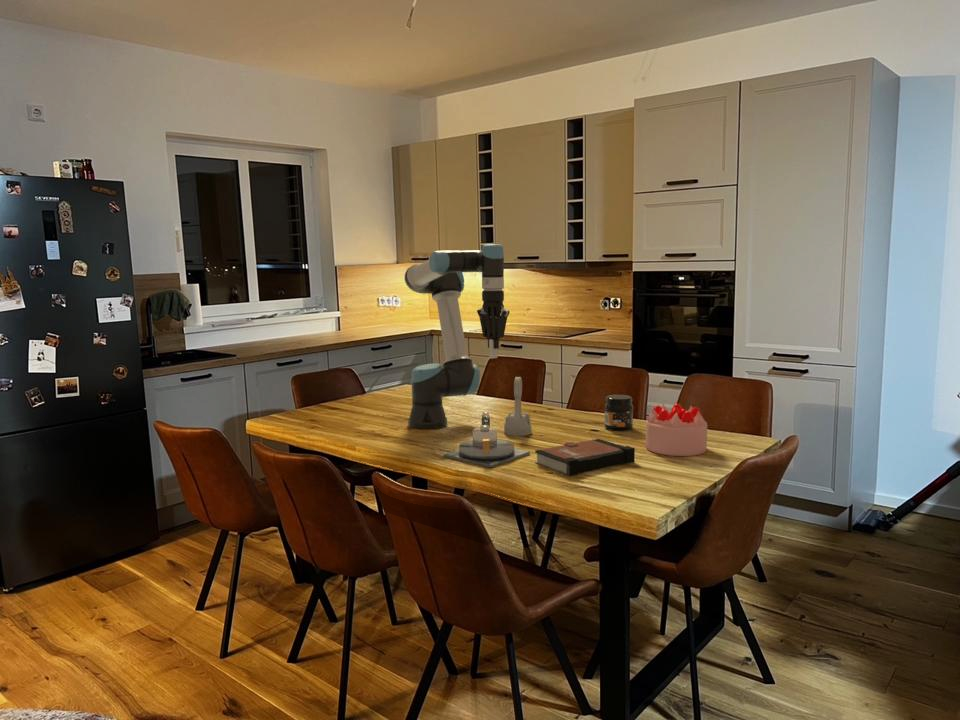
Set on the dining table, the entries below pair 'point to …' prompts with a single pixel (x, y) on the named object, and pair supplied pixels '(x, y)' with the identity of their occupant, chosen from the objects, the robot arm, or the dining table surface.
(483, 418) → the stand
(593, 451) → the book
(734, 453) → the dining table surface
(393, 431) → the dining table surface
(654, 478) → the dining table surface
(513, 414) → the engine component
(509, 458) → the base plate
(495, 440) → the cover
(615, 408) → the supplement container
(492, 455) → the turntable
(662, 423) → the cake
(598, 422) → the dining table surface
